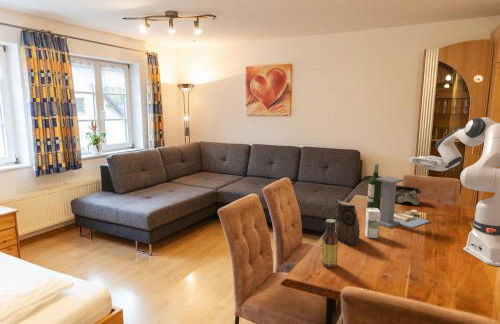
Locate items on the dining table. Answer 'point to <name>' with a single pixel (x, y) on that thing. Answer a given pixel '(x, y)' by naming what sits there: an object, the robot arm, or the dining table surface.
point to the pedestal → (388, 201)
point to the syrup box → (372, 222)
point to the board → (405, 215)
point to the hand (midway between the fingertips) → (420, 160)
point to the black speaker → (347, 223)
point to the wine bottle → (374, 190)
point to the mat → (412, 222)
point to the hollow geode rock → (406, 194)
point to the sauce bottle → (330, 245)
